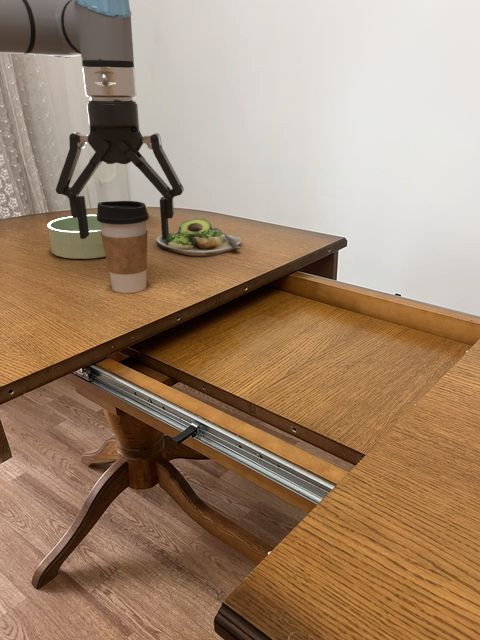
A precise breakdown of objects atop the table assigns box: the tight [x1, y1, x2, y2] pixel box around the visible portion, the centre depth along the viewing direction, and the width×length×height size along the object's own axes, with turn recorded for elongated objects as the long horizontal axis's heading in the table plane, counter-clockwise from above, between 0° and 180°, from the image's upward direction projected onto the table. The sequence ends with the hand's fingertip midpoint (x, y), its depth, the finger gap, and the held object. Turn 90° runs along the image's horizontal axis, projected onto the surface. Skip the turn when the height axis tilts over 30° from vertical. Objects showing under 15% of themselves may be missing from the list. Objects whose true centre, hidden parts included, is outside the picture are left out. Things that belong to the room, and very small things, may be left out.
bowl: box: [47, 214, 106, 260], centre depth 115 cm, size 15×15×6 cm
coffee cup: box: [96, 200, 149, 294], centre depth 93 cm, size 8×8×15 cm
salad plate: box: [155, 218, 241, 257], centre depth 120 cm, size 19×18×5 cm
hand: (125, 237), depth 92 cm, fingers open, 13 cm apart
